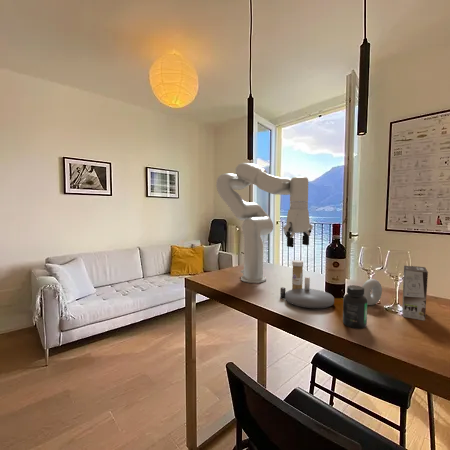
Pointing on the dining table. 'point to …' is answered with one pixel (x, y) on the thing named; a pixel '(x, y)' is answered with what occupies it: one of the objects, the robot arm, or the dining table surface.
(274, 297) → the dining table surface
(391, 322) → the dining table surface
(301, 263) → the sprinkles bottle
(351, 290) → the supplement bottle
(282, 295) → the stop dowel
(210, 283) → the dining table surface
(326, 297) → the turntable
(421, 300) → the coffee box
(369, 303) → the donut
